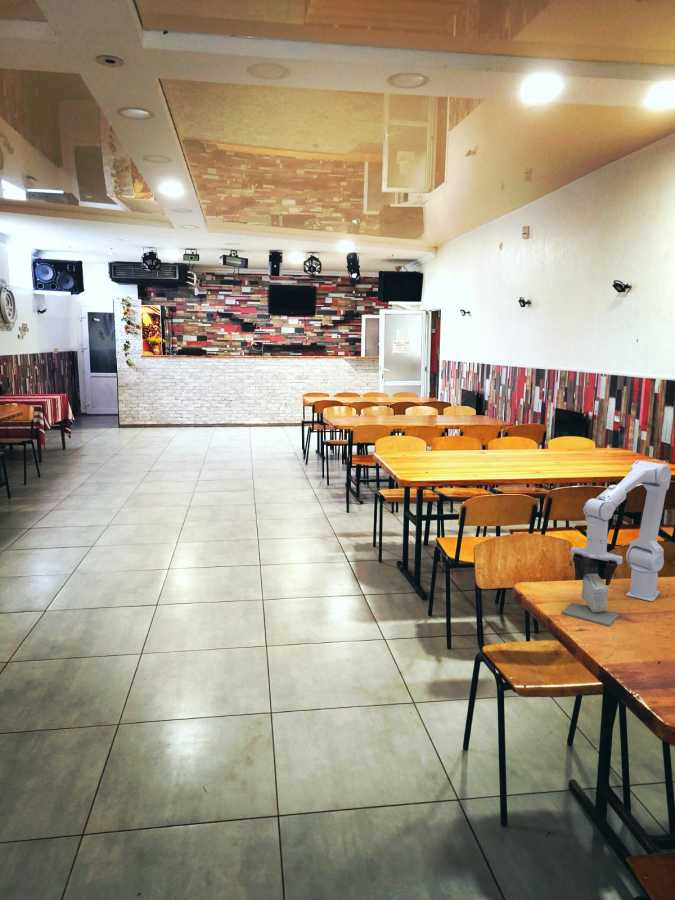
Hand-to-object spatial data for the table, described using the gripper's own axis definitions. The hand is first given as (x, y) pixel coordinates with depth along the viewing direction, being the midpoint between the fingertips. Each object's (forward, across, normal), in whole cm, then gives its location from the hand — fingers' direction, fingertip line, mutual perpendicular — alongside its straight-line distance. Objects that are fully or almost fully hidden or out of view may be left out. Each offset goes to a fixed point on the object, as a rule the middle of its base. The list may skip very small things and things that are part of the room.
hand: (594, 581), depth 182 cm
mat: (+9, 0, -4) cm, 10 cm away
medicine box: (+8, 0, 0) cm, 8 cm away
